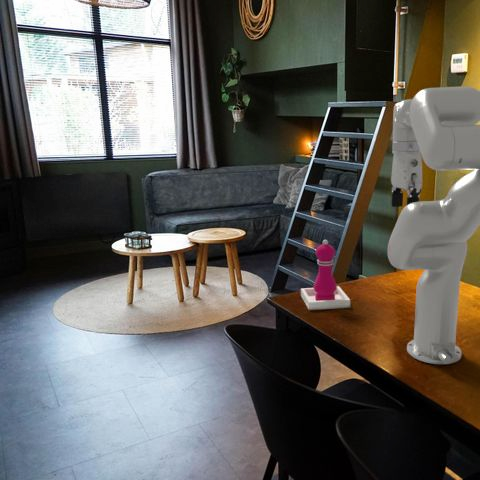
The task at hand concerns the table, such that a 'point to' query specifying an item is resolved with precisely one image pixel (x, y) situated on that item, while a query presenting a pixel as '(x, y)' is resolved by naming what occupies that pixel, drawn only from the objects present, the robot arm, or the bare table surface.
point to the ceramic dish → (312, 304)
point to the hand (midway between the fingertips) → (404, 208)
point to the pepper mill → (325, 273)
